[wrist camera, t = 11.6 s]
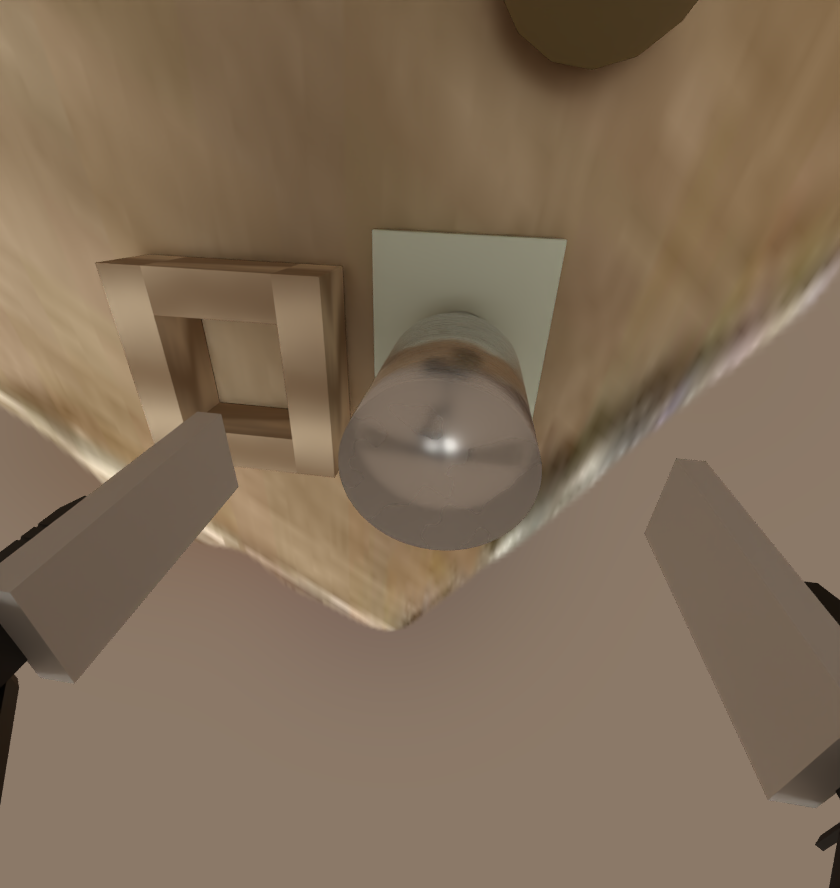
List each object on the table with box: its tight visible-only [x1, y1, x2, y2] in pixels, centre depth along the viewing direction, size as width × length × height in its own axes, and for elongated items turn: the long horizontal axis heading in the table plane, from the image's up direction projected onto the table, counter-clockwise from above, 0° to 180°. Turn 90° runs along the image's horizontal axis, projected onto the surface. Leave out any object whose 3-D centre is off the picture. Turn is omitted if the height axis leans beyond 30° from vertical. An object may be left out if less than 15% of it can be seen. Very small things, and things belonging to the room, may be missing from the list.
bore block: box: [95, 254, 350, 478], centre depth 26 cm, size 12×12×4 cm
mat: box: [372, 229, 567, 418], centre depth 25 cm, size 12×10×1 cm
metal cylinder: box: [338, 311, 542, 550], centre depth 19 cm, size 6×6×13 cm
